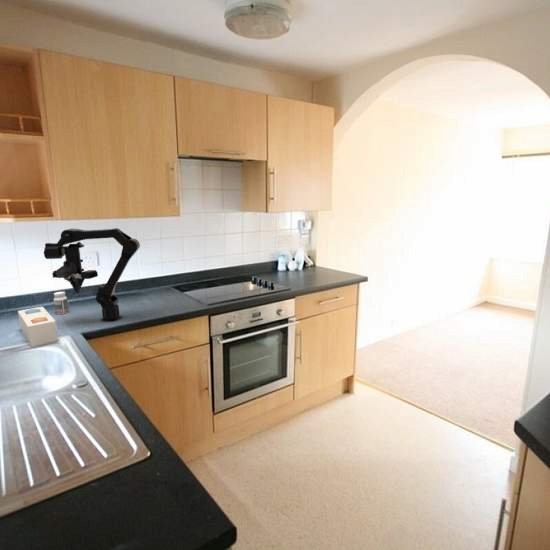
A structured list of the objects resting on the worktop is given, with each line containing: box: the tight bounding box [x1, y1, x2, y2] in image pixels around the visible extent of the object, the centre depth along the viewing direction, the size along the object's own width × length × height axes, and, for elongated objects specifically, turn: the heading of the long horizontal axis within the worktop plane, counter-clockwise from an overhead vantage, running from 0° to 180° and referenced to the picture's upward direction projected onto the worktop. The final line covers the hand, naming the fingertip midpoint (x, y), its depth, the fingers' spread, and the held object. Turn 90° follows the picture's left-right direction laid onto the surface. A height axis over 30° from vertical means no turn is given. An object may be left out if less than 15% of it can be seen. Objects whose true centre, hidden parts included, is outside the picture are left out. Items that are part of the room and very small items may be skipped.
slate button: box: [26, 308, 39, 314], centre depth 154 cm, size 4×4×2 cm
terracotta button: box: [33, 317, 46, 323], centre depth 143 cm, size 4×4×2 cm
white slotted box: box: [17, 306, 59, 348], centre depth 149 cm, size 26×9×8 cm, turn 41°
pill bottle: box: [53, 291, 70, 315], centre depth 178 cm, size 6×6×10 cm
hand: (77, 292), depth 164 cm, fingers closed
